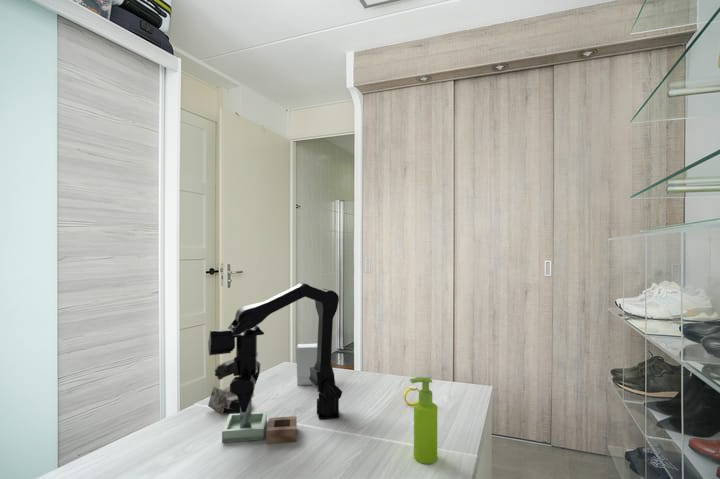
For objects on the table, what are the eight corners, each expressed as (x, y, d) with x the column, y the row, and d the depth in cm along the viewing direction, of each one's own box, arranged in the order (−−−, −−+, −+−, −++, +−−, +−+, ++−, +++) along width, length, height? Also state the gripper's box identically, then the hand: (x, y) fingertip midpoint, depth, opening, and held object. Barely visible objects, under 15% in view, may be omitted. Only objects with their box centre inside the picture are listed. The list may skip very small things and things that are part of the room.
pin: (254, 423, 114) (254, 389, 114) (252, 431, 110) (252, 395, 110) (239, 425, 113) (239, 390, 113) (236, 432, 109) (236, 396, 109)
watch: (419, 403, 133) (420, 385, 133) (422, 406, 130) (423, 388, 131) (402, 402, 132) (403, 385, 133) (404, 406, 130) (406, 388, 130)
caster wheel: (252, 413, 130) (231, 420, 121) (228, 400, 135) (206, 406, 126) (258, 393, 130) (237, 399, 121) (233, 381, 135) (212, 386, 126)
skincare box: (318, 380, 155) (319, 342, 155) (317, 385, 149) (317, 346, 149) (297, 380, 155) (298, 342, 155) (295, 385, 149) (296, 346, 149)
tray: (266, 421, 118) (266, 411, 118) (263, 439, 107) (263, 428, 107) (229, 424, 116) (229, 414, 116) (221, 442, 105) (222, 431, 105)
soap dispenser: (407, 452, 101) (407, 374, 101) (433, 451, 101) (433, 374, 102) (412, 464, 95) (412, 382, 95) (440, 463, 95) (440, 382, 96)
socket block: (296, 428, 114) (296, 416, 114) (296, 441, 106) (296, 428, 106) (268, 430, 112) (268, 417, 112) (266, 443, 104) (266, 430, 105)
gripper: (223, 344, 120) (223, 394, 120) (210, 361, 101) (209, 421, 101) (260, 342, 122) (260, 392, 121) (253, 359, 103) (253, 418, 103)
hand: (246, 405), depth 112 cm, fingers open, 9 cm apart
